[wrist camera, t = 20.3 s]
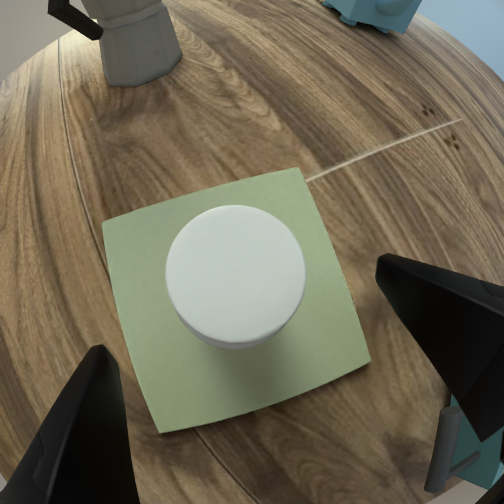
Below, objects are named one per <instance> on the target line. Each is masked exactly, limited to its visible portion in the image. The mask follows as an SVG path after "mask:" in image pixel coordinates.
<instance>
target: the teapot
mask: <svg viewBox="0 0 504 504" xmlns="http://www.w3.org/2000/svg"><path fill="white" fill-rule="evenodd" d="M421 1H422V0H326V1H324V2H323V3H322V4H323V5H325V6H327V7H330V8H334V9H337V10H338V11H339V12H340V13H342V15H341V17H340V18H339V19H340V20H341V21H343V22H345V23H347V24H350V25H356V23H357V21H358V22H362V23H366V24H371V25H373V26H374V27H375V28H376V29H378V30H379V31H381V32H384V33H388V30H387V29H389V30H392V31H396V32H399V33H402V34H404V33H405V31H406V29H407V27H408V25H409V24H410V22H411V20H412V18H413V16H414V14H415V12H416V10H417V8H418V7H419V5H420V3H421Z"/></svg>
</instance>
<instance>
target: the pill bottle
mask: <svg viewBox="0 0 504 504" xmlns="http://www.w3.org/2000/svg"><path fill="white" fill-rule="evenodd" d="M306 278H307V272H306V263H305V258H304V255H303V252H302V249H301V247H300V245H299V243H298V241H297V240H296V238H295V236H294V235H293V233H292V232H291V231H290V230H289V229H288V227H287V226H286V225H285V224H283V223H282V222H281V221H280V220H278V219H277V218H276V217H274V216H273V215H271V214H269V213H267V212H265V211H263V210H260V209H257V208H254V207H250V206H243V205H227V206H221V207H216V208H213V209H210V210H208V211H205V212H204V213H202V214H200V215H198V216H196V217H195V218H194V219H192V220H191V221H190V222H189V223H187V224H186V225H185V227H184V228H183V229H182V230H181V231H180V232H179V234H178V235H177V236H176V238H175V240H174V241H173V243H172V245H171V248H170V251H169V254H168V257H167V261H166V270H165V279H166V287H167V292H168V295H169V298H170V300H171V303H172V304H173V306H174V309H175V311H176V313H177V315H178V317H179V319H180V320H181V322H182V323H183V324H184V326H185V327H186V328H187V329H188V330H189V331H190V332H191V333H192V334H194V335H195V336H196V337H197V338H199V339H200V340H202V341H204V342H205V343H207V344H209V345H212V346H215V347H218V348H222V349H245V348H250V347H254V346H257V345H260V344H262V343H264V342H266V341H268V340H269V339H271V338H272V337H274V336H275V335H276V334H277V333H278V332H280V331H281V330H282V328H283V327H284V326H285V325H286V324H287V322H288V321H289V320H290V319H291V318H292V317H293V315H294V314H295V312H296V311H297V309H298V307H299V305H300V303H301V301H302V299H303V295H304V291H305V287H306Z"/></svg>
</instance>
